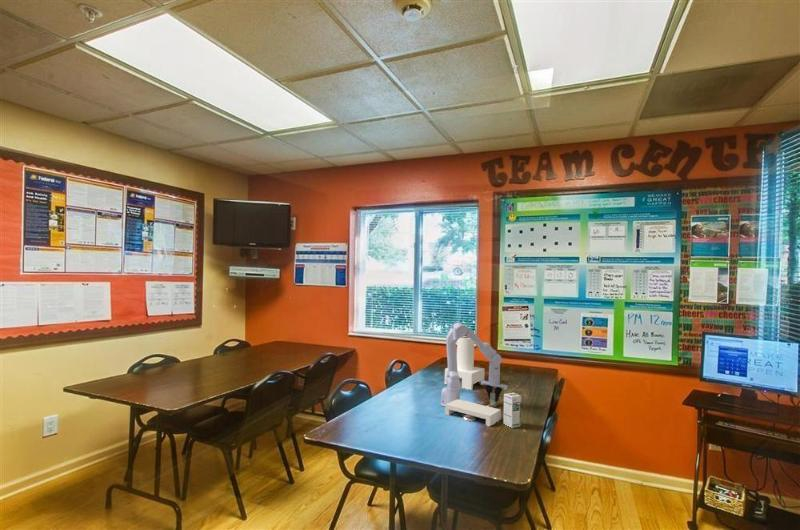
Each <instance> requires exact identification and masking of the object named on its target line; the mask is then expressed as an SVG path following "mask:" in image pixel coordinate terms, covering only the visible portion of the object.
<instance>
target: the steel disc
mask: <svg viewBox="0 0 800 530" xmlns="http://www.w3.org/2000/svg"><path fill="white" fill-rule="evenodd" d="M464 420H465V421H464ZM474 420H476V416H472V415H468V414H464V415H462V421H464V422H468V421H472V422H475V421H474Z"/></svg>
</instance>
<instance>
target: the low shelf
mask: <svg viewBox="0 0 800 530" xmlns="http://www.w3.org/2000/svg"><path fill="white" fill-rule="evenodd" d="M444 407H445V406H444ZM444 411H445V415H446V414H447V415H446V416H450V414H451V415H453V414H455V413H456V412H458V413H462V414H464V415H471V416H474V417H475V418H479V419H484V420H485V426H486V425H487V426H486V427H489V426H490V427H492V426H493V425H495V424H497V423H498V422H500V421H501V417H502V416H501V415H502V414H501V413H502V409H501V408H497V407H496V408H495V407H488V406H487V405H483V404H478V403H475V402H471V401H467V400H462V399H460V400H459V399H457V400H454V401H452V402H450V403H447V404H446V407H445V410H444ZM454 412H455V413H454ZM452 413H453V414H452ZM499 420H500V421H499ZM496 422H497V423H496ZM491 425H492V426H491Z"/></svg>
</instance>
